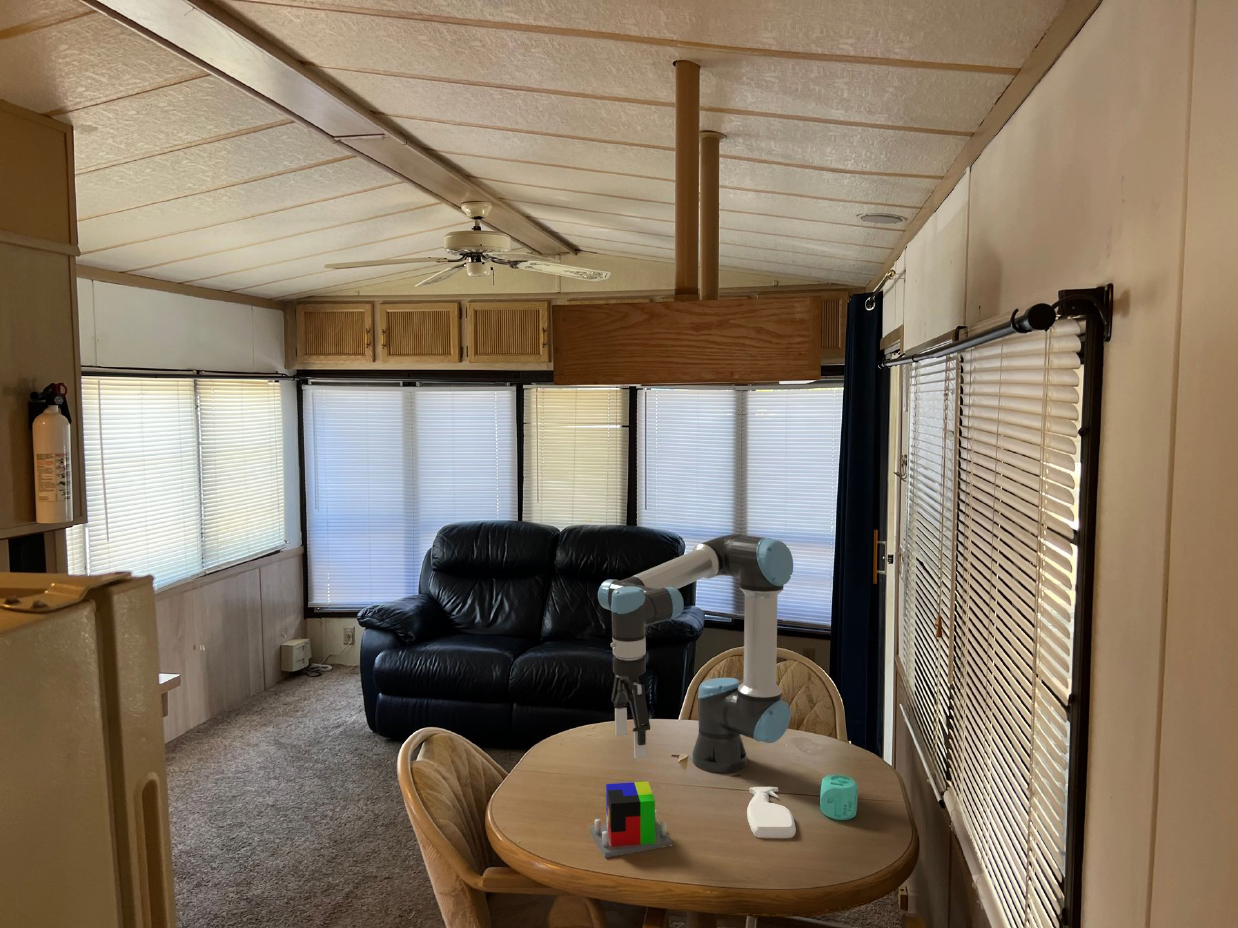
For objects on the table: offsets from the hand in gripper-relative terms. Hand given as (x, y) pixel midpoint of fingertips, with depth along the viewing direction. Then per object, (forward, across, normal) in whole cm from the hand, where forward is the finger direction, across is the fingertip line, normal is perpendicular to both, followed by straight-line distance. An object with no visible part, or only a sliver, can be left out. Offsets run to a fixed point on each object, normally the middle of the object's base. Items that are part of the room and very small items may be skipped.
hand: (630, 745), depth 198 cm
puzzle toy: (+21, 0, 0) cm, 21 cm away
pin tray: (+22, 0, 0) cm, 22 cm away
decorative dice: (+23, +5, +52) cm, 57 cm away
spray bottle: (+23, -1, +35) cm, 42 cm away
